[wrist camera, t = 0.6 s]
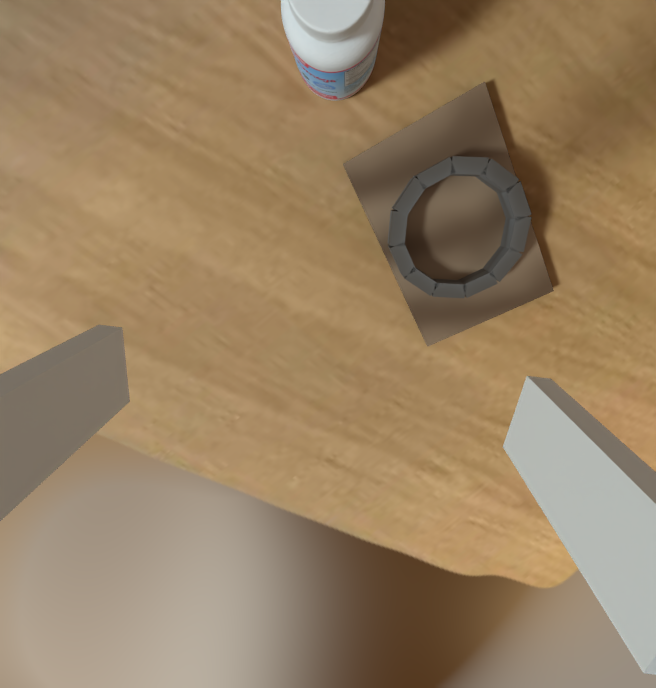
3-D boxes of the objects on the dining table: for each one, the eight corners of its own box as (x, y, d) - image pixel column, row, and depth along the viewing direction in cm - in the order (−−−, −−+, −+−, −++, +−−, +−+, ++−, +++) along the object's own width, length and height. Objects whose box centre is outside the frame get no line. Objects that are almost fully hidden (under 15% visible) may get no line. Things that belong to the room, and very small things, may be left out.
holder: (343, 165, 32) (342, 161, 29) (480, 85, 29) (494, 72, 26) (425, 342, 37) (431, 354, 34) (548, 288, 34) (565, 296, 31)
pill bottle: (282, 55, 29) (243, -28, 19) (340, -13, 27) (334, -147, 17) (333, 120, 31) (324, 77, 20) (392, 59, 29) (416, -23, 18)
